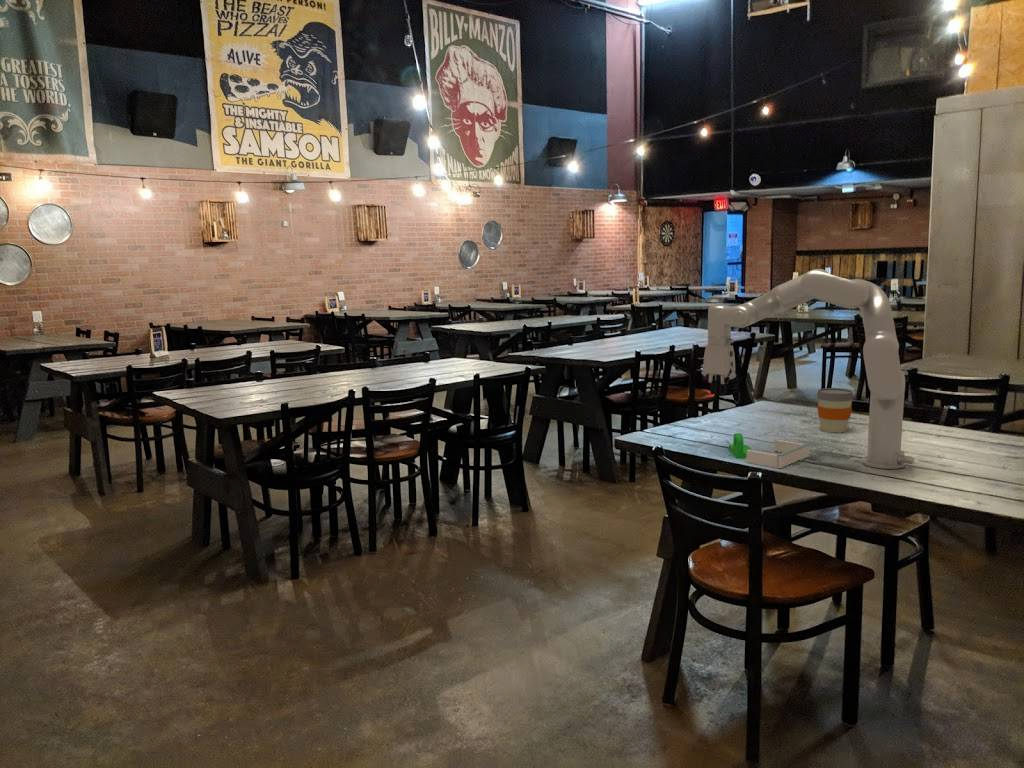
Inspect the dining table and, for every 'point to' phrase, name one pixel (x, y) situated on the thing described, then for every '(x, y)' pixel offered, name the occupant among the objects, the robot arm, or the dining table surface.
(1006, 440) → the dining table surface
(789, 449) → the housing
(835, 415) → the reusable coffee cup
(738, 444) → the mechanical part
